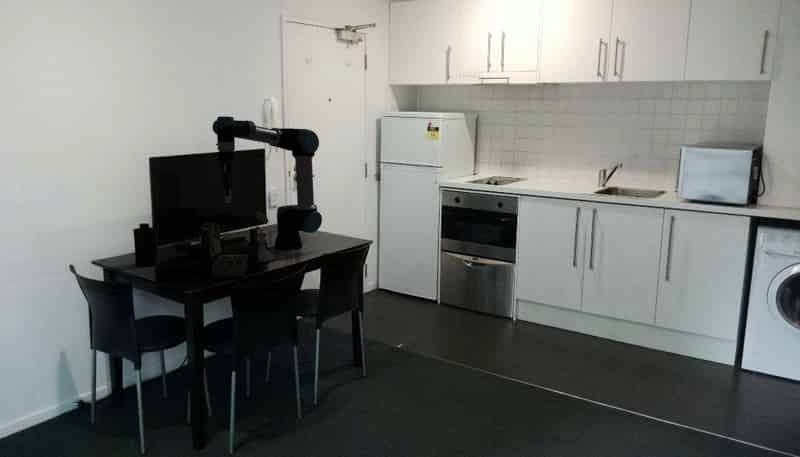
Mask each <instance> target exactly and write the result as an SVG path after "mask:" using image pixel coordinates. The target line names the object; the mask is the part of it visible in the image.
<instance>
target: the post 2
mask: <svg viewBox="0 0 800 457" xmlns="http://www.w3.org/2000/svg"><path fill="white" fill-rule="evenodd" d="M258 231H259V230H258V229H256V227H255V228H249V249H250V250H249V251H250V271H251V272H259V271H260V270H259V268H260V267H259V262H258V250H259V240H258V239H259V237H258V234H259V232H258Z"/></svg>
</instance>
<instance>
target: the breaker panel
mask: <svg viewBox="0 0 800 457" xmlns="http://www.w3.org/2000/svg"><path fill="white" fill-rule="evenodd" d="M228 255H229V254H217V257H216V259H215V260H214V262H213V264H212V265H211V278H212V279H218V278H219V279H221V278H224V279H225V278H227V277H230V278H244V277H245V276H246V275H245V274H246V272H247V269H248V267H249V254H232V255H233V257H234V260H233V261H227V256H228Z"/></svg>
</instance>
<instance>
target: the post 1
mask: <svg viewBox="0 0 800 457" xmlns="http://www.w3.org/2000/svg"><path fill="white" fill-rule="evenodd" d="M201 245H202V253H201V261H202V263H201V266H202V273H210V272H212V269H211V267H212V265H211V256H210V242H209V229H201V234H200V246H201Z"/></svg>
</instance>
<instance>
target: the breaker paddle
mask: <svg viewBox="0 0 800 457" xmlns="http://www.w3.org/2000/svg"><path fill="white" fill-rule="evenodd" d="M227 255H228V256H227V261H233V260H234V257H233V255H234V254H227Z"/></svg>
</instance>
